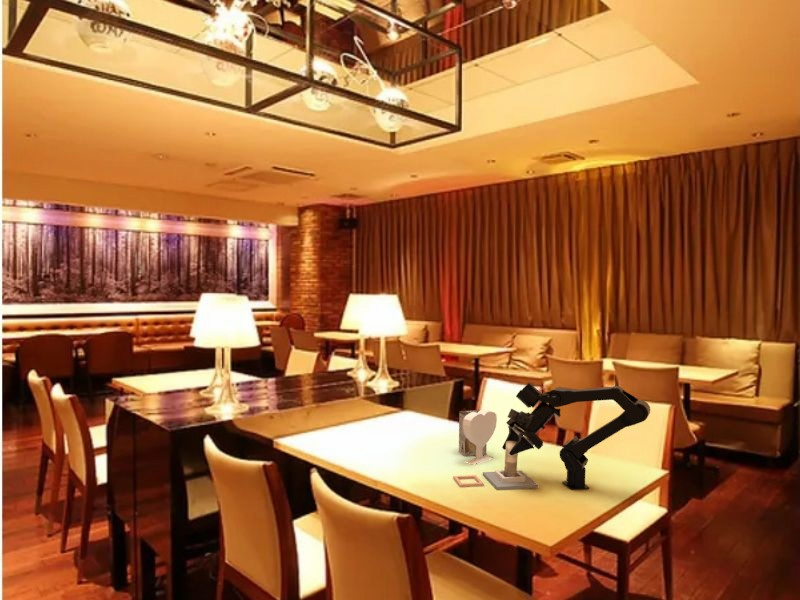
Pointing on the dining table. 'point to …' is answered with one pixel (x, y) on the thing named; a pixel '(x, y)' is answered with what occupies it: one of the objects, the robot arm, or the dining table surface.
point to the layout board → (509, 480)
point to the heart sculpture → (479, 431)
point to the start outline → (468, 483)
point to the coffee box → (464, 444)
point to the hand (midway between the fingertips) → (506, 451)
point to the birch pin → (510, 460)
